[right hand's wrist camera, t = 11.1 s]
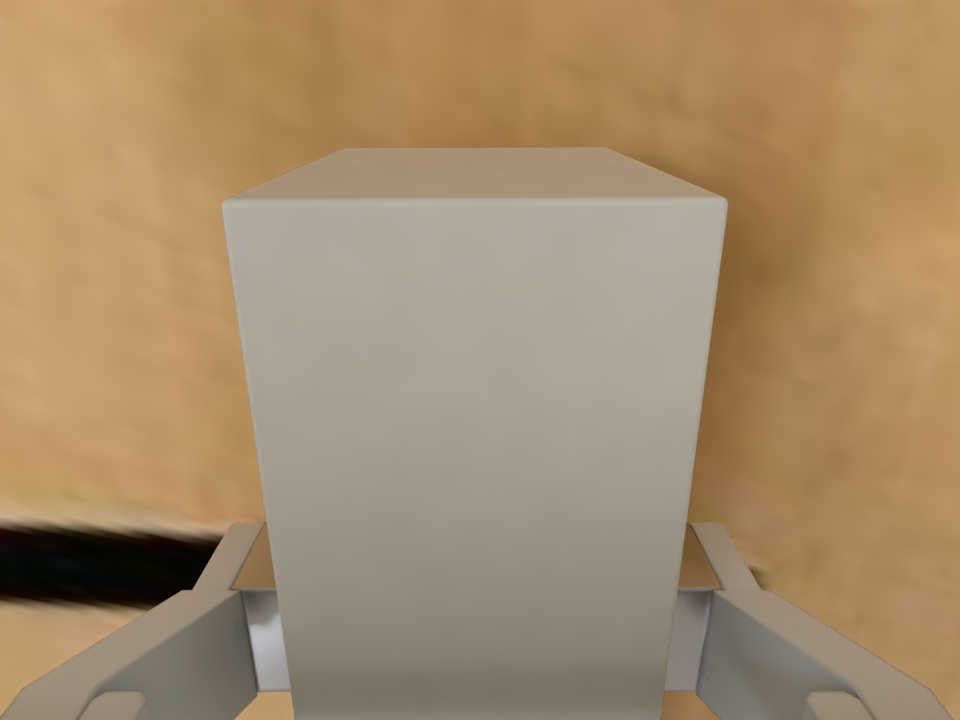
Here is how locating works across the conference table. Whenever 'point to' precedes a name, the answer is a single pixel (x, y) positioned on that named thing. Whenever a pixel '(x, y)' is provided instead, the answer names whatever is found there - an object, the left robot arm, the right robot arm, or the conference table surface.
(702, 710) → the conference table surface
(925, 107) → the conference table surface
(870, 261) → the conference table surface
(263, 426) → the post
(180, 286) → the conference table surface
